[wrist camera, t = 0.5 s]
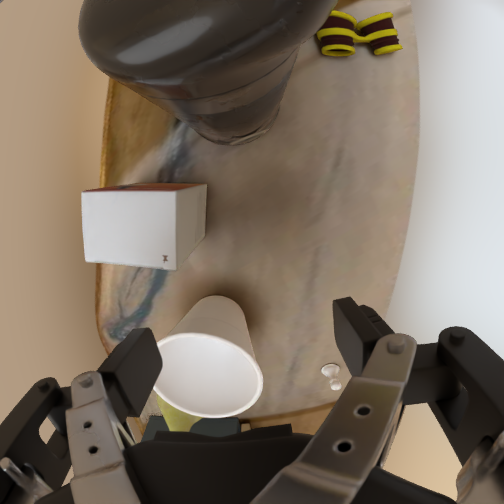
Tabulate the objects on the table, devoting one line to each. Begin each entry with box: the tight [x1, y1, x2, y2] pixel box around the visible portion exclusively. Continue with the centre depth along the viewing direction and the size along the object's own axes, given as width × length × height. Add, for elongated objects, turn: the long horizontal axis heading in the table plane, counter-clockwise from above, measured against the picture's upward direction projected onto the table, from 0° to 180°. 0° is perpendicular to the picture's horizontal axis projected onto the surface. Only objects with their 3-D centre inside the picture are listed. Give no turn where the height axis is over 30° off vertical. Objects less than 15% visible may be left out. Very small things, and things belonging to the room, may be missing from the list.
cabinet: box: [141, 416, 241, 442], centre depth 33 cm, size 15×12×11 cm
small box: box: [82, 183, 207, 271], centre depth 22 cm, size 8×6×10 cm
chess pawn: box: [322, 364, 341, 390], centre depth 31 cm, size 3×2×4 cm
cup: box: [153, 295, 263, 418], centre depth 26 cm, size 10×10×11 cm
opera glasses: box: [317, 10, 403, 56], centre depth 20 cm, size 10×5×5 cm, turn 105°
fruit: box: [157, 394, 203, 432], centre depth 28 cm, size 7×8×12 cm
